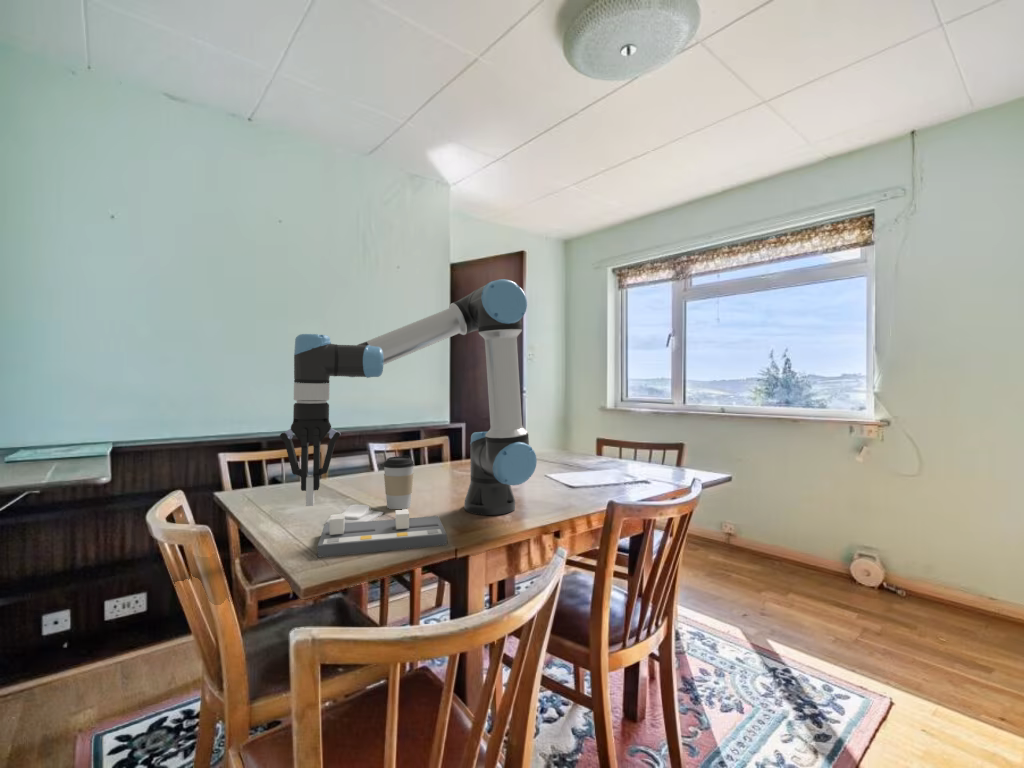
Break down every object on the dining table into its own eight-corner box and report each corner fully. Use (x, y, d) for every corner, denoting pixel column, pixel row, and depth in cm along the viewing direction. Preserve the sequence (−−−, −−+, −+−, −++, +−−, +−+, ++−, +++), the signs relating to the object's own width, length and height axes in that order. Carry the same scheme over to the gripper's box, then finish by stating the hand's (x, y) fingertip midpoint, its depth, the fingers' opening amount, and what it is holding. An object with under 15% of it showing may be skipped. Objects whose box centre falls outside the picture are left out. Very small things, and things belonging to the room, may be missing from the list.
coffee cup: (398, 512, 136) (398, 460, 136) (376, 507, 141) (376, 457, 141) (420, 505, 144) (420, 456, 144) (398, 501, 149) (398, 453, 148)
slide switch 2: (407, 523, 117) (407, 509, 117) (409, 528, 113) (409, 513, 113) (395, 524, 116) (395, 510, 116) (396, 529, 112) (396, 514, 112)
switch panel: (438, 525, 125) (438, 515, 125) (446, 544, 110) (446, 533, 110) (324, 534, 117) (324, 523, 117) (317, 557, 102) (317, 544, 102)
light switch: (384, 502, 136) (364, 513, 123) (383, 517, 136) (364, 529, 123) (348, 501, 137) (325, 511, 125) (348, 515, 137) (324, 527, 124)
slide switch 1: (344, 528, 113) (344, 513, 113) (343, 533, 109) (343, 518, 109) (331, 529, 112) (331, 514, 112) (329, 534, 108) (329, 519, 108)
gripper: (342, 401, 114) (341, 498, 114) (283, 400, 110) (281, 501, 110) (340, 402, 107) (339, 507, 107) (277, 402, 103) (275, 510, 103)
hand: (310, 504), depth 109 cm, fingers closed
